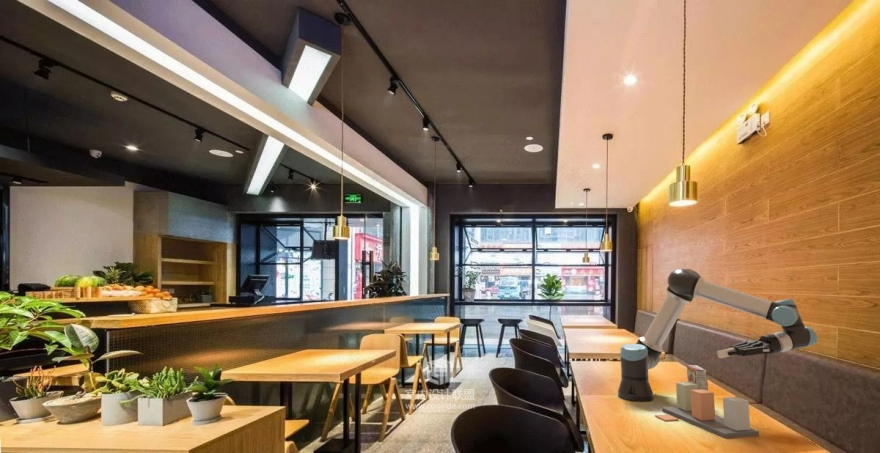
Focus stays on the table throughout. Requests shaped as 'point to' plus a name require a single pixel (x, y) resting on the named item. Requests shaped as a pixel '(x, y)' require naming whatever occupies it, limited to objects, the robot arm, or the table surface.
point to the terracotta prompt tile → (667, 417)
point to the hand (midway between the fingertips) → (718, 354)
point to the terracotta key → (702, 404)
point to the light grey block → (736, 413)
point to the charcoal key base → (710, 424)
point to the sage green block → (685, 395)
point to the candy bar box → (697, 376)
